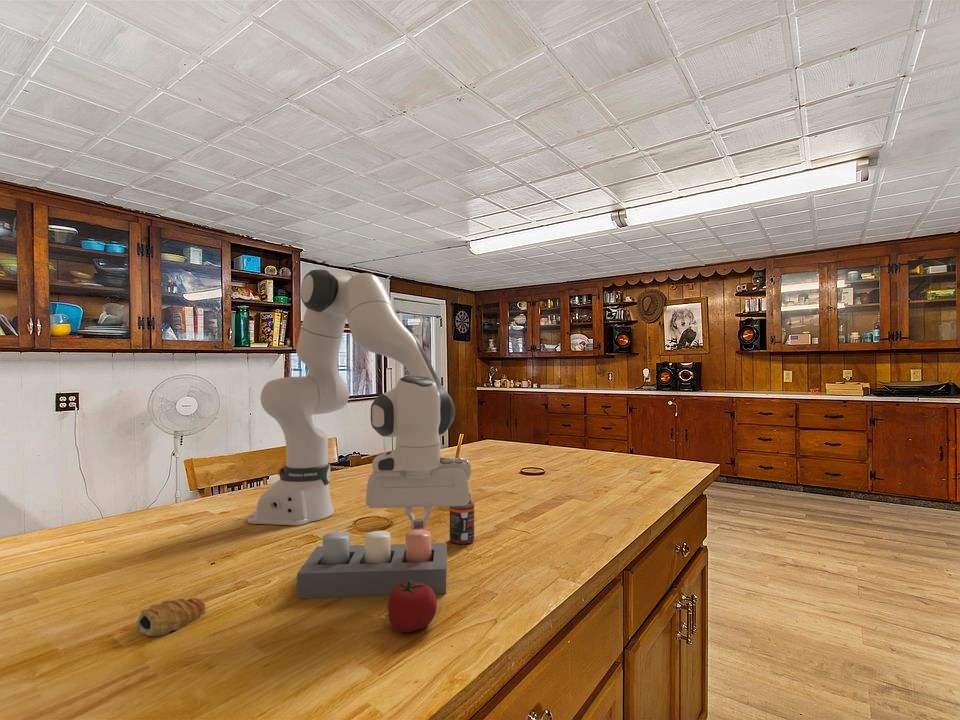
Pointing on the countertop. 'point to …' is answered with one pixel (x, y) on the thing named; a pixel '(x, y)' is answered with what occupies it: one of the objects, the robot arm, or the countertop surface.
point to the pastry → (169, 616)
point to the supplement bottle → (462, 523)
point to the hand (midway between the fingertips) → (418, 528)
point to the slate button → (336, 548)
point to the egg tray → (370, 573)
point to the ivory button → (377, 547)
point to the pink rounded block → (418, 546)
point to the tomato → (411, 606)
